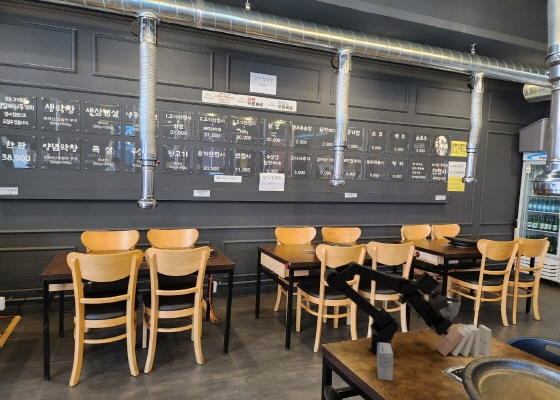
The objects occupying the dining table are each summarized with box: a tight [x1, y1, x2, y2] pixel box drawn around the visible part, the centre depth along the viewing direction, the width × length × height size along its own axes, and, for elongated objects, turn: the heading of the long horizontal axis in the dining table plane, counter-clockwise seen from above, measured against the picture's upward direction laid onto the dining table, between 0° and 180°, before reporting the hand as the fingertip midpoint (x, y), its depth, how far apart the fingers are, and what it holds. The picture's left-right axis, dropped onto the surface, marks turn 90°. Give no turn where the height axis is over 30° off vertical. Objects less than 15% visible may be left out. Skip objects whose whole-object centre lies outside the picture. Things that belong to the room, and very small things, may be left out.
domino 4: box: [467, 324, 481, 358], centre depth 131 cm, size 2×5×10 cm, turn 3°
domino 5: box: [478, 324, 493, 357], centre depth 131 cm, size 2×5×10 cm, turn 3°
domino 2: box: [449, 325, 471, 357], centre depth 130 cm, size 2×5×10 cm, turn 2°
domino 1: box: [435, 327, 464, 357], centre depth 130 cm, size 2×5×10 cm
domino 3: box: [459, 323, 476, 358], centre depth 130 cm, size 2×5×10 cm, turn 2°
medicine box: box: [375, 342, 394, 382], centre depth 114 cm, size 8×4×9 cm, turn 168°
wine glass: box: [439, 295, 461, 338], centre depth 147 cm, size 8×8×15 cm
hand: (446, 334), depth 130 cm, fingers closed
